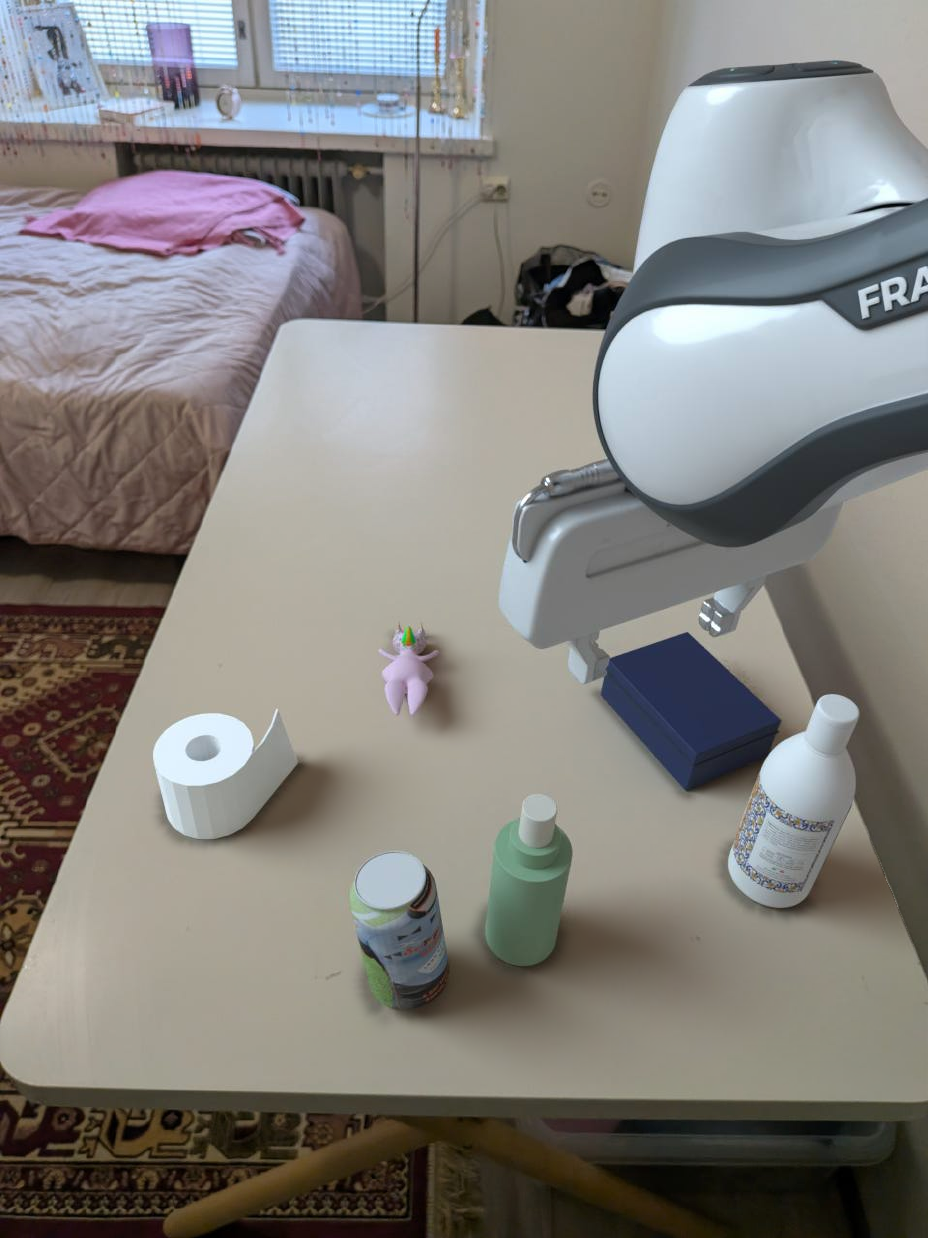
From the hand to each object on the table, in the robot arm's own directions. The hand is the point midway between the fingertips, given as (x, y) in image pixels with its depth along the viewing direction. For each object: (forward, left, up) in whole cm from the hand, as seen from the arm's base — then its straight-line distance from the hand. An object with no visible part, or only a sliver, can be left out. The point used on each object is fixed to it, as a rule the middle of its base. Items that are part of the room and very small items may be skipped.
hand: (653, 651), depth 54 cm
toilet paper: (+25, +21, -30) cm, 44 cm away
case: (+15, -21, -30) cm, 40 cm away
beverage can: (+3, +15, -30) cm, 34 cm away
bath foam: (-2, -17, -30) cm, 35 cm away
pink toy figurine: (+32, +1, -30) cm, 44 cm away
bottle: (+2, +5, -30) cm, 30 cm away
